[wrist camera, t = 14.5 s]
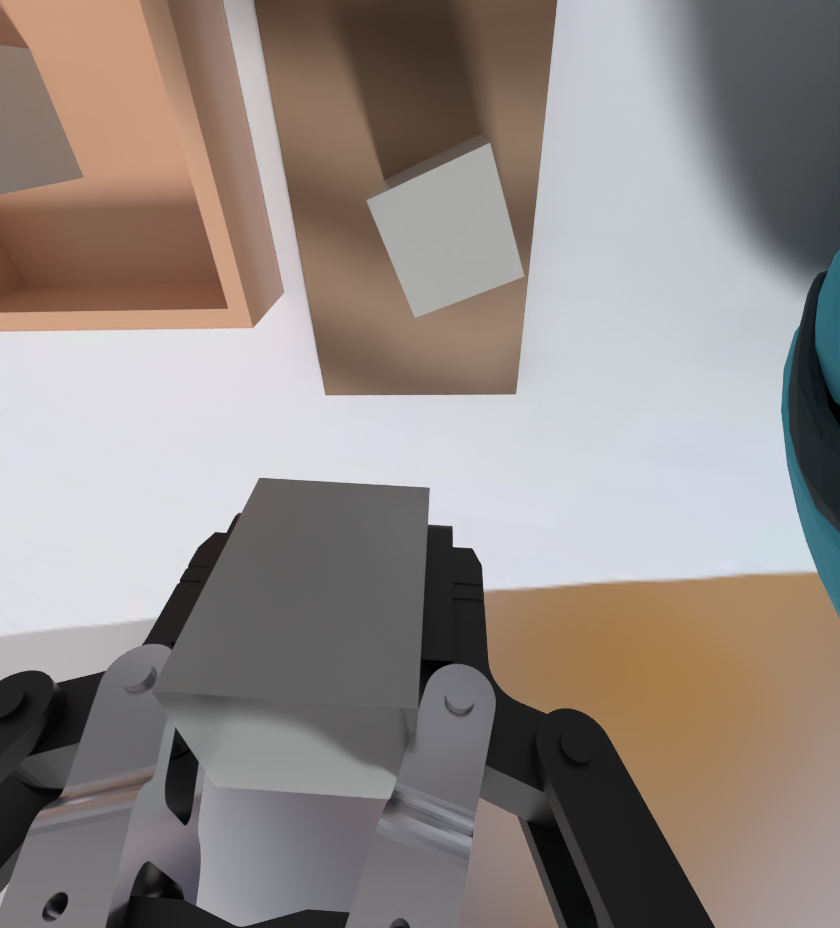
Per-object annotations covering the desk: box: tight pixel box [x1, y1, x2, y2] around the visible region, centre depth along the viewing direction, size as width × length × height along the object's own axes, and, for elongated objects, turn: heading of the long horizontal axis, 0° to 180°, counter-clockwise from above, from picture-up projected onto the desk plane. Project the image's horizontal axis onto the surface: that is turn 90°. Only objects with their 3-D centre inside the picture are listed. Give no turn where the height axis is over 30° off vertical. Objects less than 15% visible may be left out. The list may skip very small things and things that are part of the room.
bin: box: [0, 0, 284, 332], centre depth 17 cm, size 14×13×4 cm
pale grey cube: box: [366, 134, 524, 318], centre depth 17 cm, size 4×4×5 cm
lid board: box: [254, 0, 557, 395], centre depth 20 cm, size 17×10×1 cm, turn 2°
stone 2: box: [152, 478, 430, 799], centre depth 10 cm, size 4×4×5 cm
